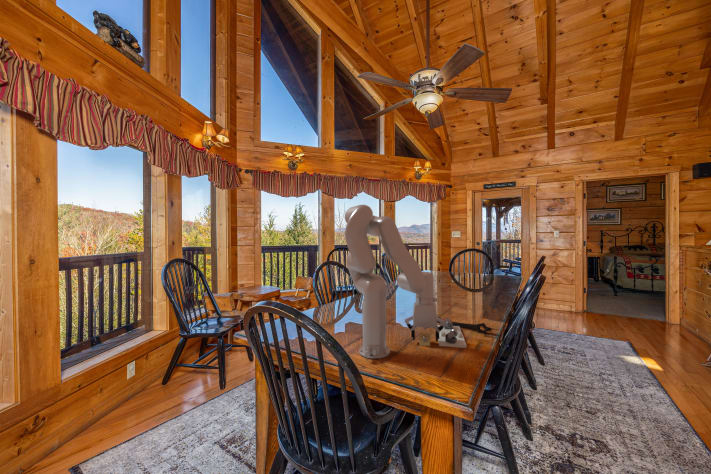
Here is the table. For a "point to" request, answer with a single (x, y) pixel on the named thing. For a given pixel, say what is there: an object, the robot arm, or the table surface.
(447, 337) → the dark grey rounded block
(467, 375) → the table surface
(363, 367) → the table surface
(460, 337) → the light grey rectangular plate
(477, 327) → the wrench
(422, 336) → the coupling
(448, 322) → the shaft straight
